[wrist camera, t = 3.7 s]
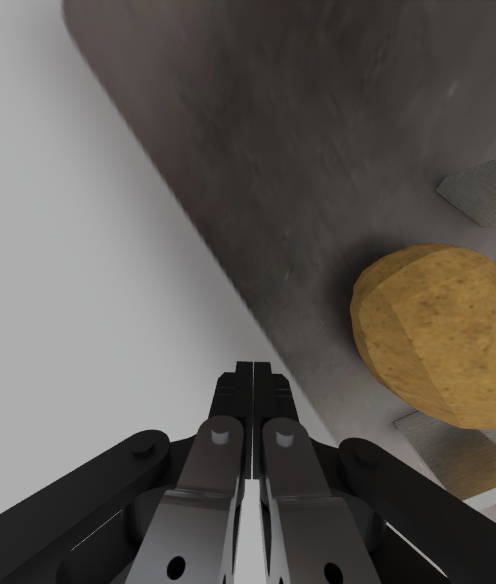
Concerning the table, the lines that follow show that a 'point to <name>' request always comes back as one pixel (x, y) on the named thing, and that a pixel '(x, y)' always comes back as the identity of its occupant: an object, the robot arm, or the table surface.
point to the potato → (431, 330)
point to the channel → (435, 433)
